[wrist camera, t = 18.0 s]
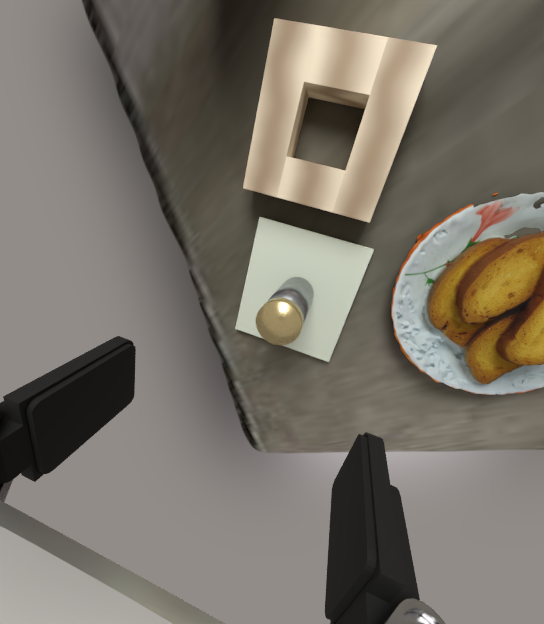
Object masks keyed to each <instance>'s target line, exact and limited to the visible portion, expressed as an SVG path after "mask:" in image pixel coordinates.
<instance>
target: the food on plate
mask: <svg viewBox="0 0 544 624" xmlns="http://www.w3.org/2000/svg"><path fill="white" fill-rule="evenodd" d="M496 194H498V193H495V194H493V195H496ZM541 197H544V193H542V192H539V193H535V194H531V195H529V194H519V195H517V196H515V197H509V198H504V199H500V200H496V201H492V202H489V203H486V204H481V205H479V206H477V207H475V208H473V204H470V205H468V206H466V207H465V208H461V209H460V210H458V211H457V212H455V213H453V214H451V215H450V216H448V217H447V218H445V219H444V220H443V221H442V222H440V223H437V224H436V225H435V226H434V227H433V228H431V229H430V230H429V231H427V232H425V234H424V235H423V234H421V235H419V236H418V237H417V239H418V241H417V243H416V244H415V245H414V247H413V248H412V249H411V250H410V252H409V254H408V256H407V259H406V260H405V261H404V263H403V264H402V266H401V268H400V271H399V275H398V277H397V278H396V286H395V287H393V298H392V304H391V308H392V311H391V317H392V320H393V321H394V330H395V333H394V335H395V337H396V339H397V341H398V342H399V344H400V350H401V351H402V352H403V353H404V355H405V356H406V357H407V359H408V360H409V361H410V362H411V363H413V364H414V365H415V366H416V367H417V368H418V369H419V370H420V372H423V373H426V374H428V375H429V376H430V377H431V378H432V379H433V380H434V381H435V382H443V383H445V384H446V385H448V386H450V387H452V388H455V389H463V390H464V391H467V392H472V393H476V394H487V395H495V394H501V395H504V394H512V393H518V394H521V393H523V392H530V391H533V390H536V389H539V388H544V203H543V204H541V205H540V206H541V208H538V209H535V208H534V207H533V204H534V203H535V202H536V201H537V200H538V199H540V198H541ZM524 227H528V228H539V229H540V230H541V232H539V233H536V234H529V235H525V236H521V237H518V236H513V237H511V238H505V237H504V235H508V234H512V233H513V232H515V231H517V230H518V229H520V228H524Z"/></svg>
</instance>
